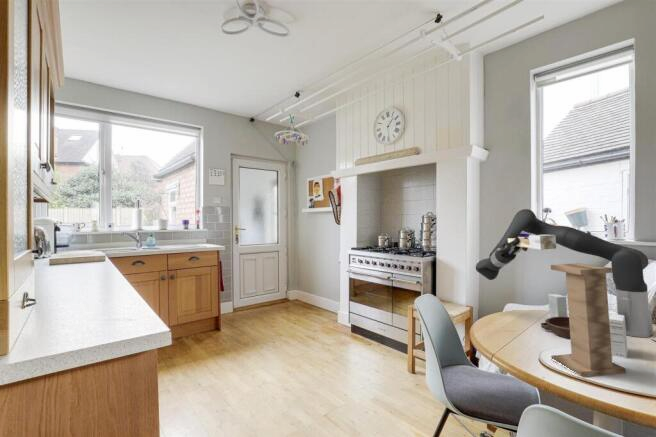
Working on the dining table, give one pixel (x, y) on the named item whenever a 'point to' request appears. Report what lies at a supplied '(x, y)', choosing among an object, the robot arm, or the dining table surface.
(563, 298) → the skincare box
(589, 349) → the wooden i-beam column
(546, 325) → the dish
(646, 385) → the dining table surface
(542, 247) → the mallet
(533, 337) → the dining table surface
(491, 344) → the dining table surface
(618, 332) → the supplement box
